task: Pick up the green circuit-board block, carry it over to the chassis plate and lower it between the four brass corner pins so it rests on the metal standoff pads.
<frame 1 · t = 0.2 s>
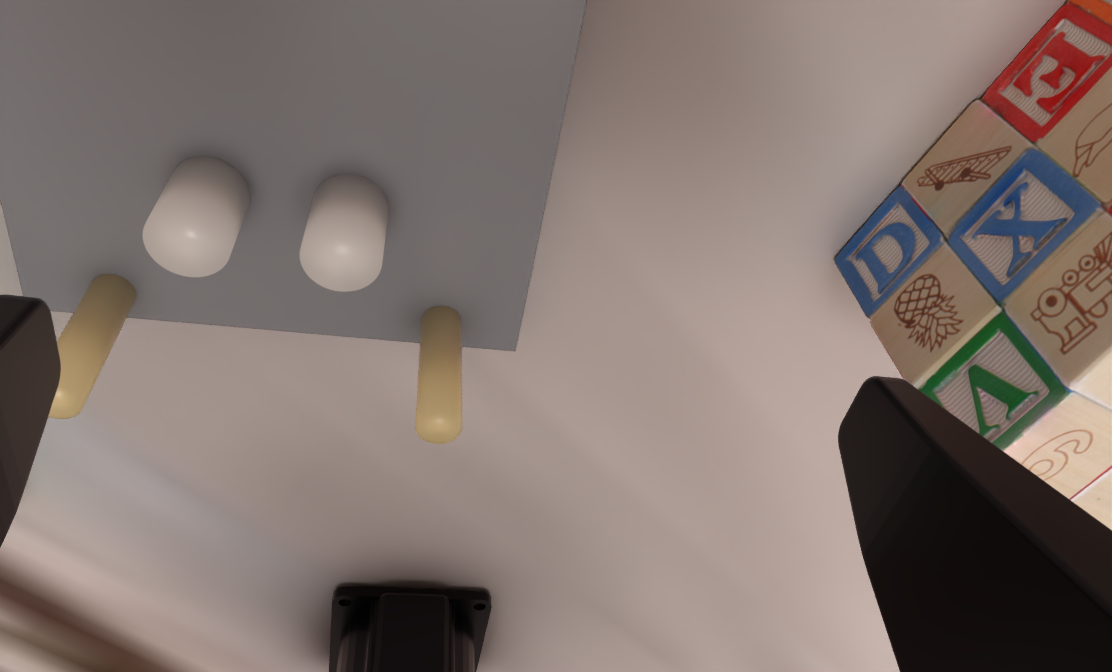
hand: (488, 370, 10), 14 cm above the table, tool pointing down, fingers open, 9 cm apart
chassis: (286, 37, 21), on the table
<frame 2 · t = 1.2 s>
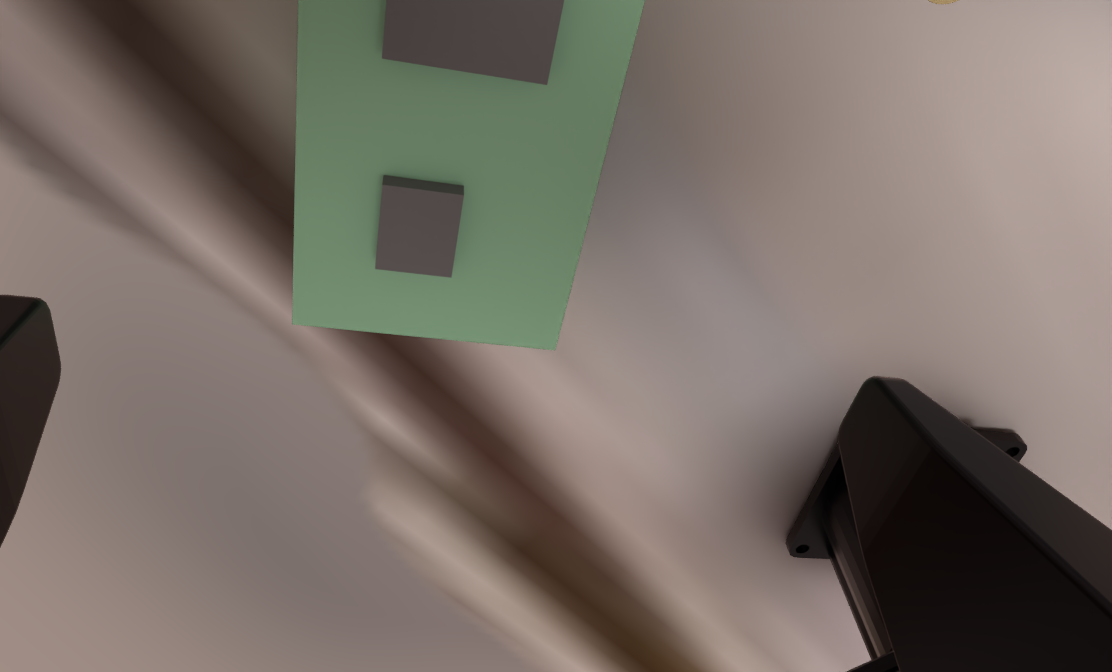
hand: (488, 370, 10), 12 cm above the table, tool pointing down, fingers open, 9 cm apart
board: (461, 18, 19), on the table
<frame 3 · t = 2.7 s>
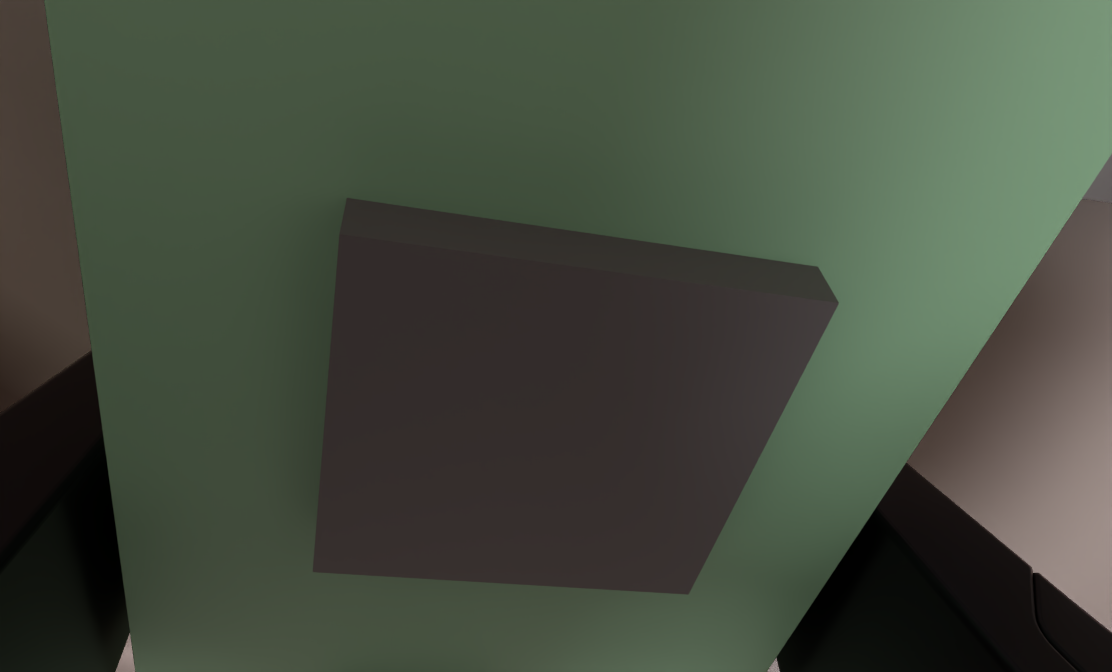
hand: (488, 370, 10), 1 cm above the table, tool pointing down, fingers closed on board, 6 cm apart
board: (485, 303, 10), on the table, touching gripper
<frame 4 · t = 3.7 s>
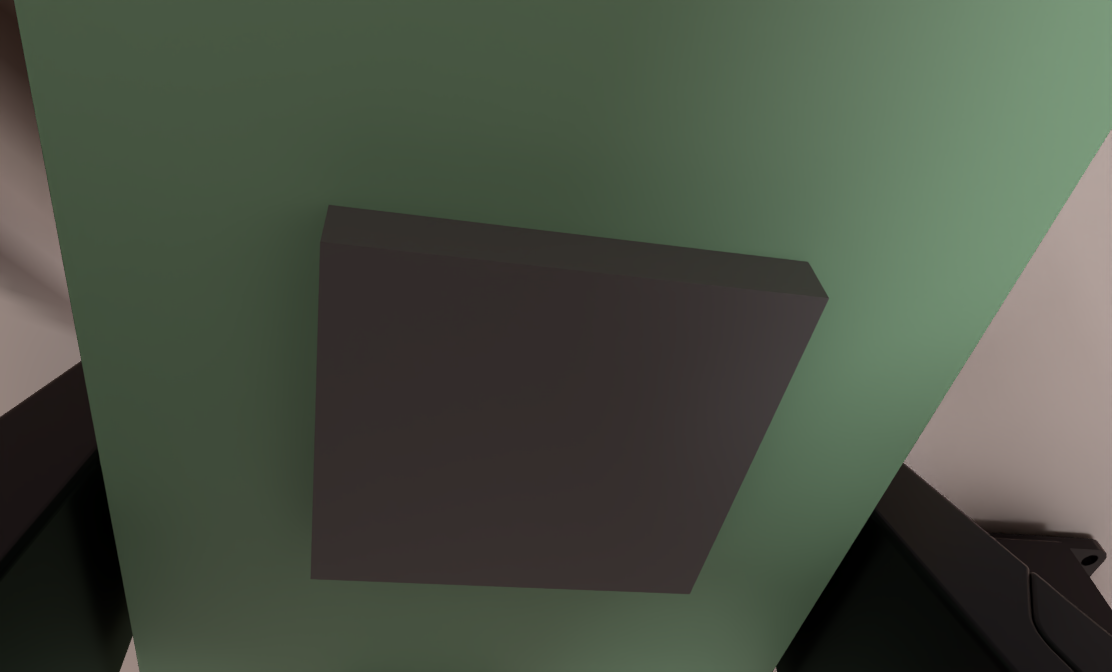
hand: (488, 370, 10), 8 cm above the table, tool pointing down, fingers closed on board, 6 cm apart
board: (485, 305, 10), point 7 cm above the table, touching gripper
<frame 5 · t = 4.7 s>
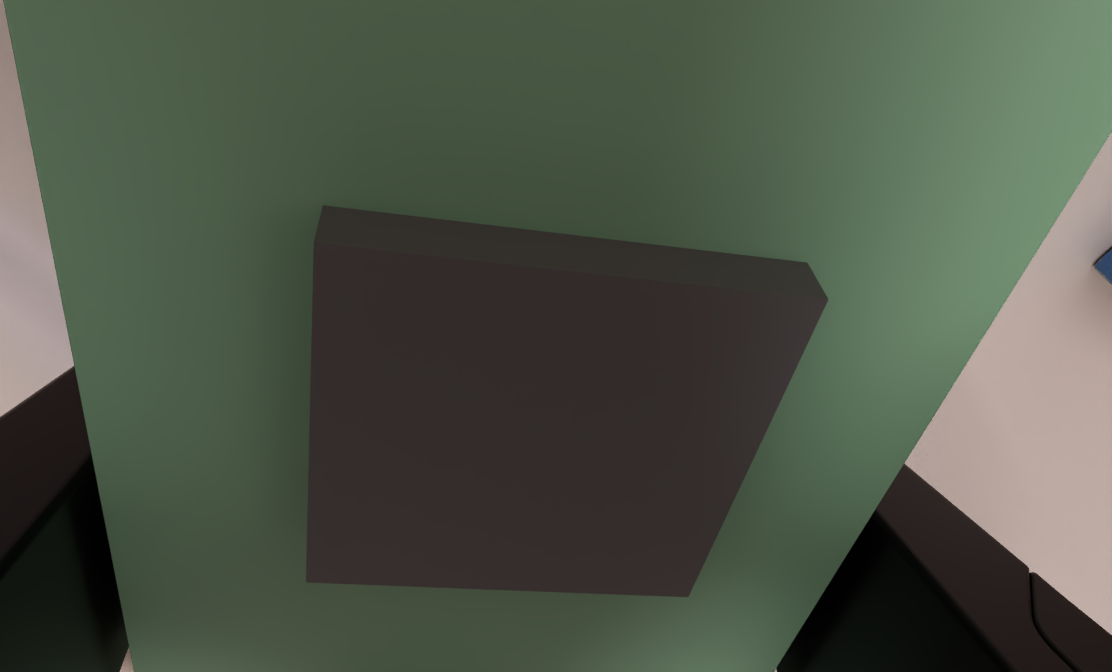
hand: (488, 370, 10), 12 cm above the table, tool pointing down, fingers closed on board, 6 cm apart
board: (483, 305, 10), point 11 cm above the table, touching gripper
when the fingers open (6 cm above the table, at t = 6.4 s): board drops 1 cm, resting on chassis.
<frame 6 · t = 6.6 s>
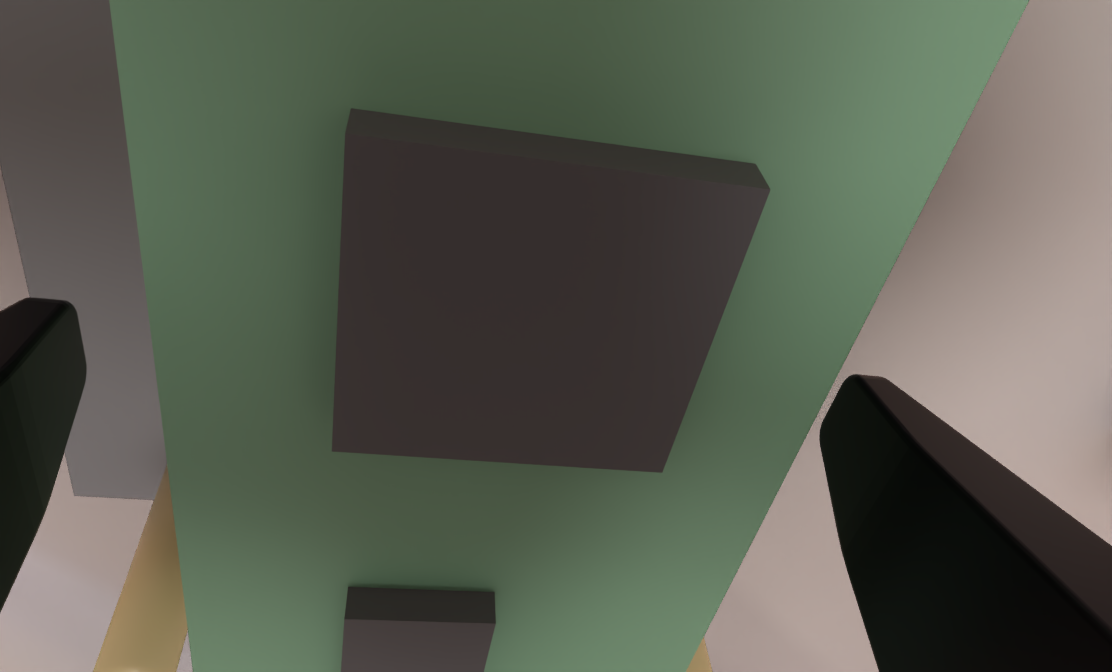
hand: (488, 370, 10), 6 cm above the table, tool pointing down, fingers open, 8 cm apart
board: (483, 245, 11), point 3 cm above the table, touching chassis
chassis: (477, 131, 14), on the table
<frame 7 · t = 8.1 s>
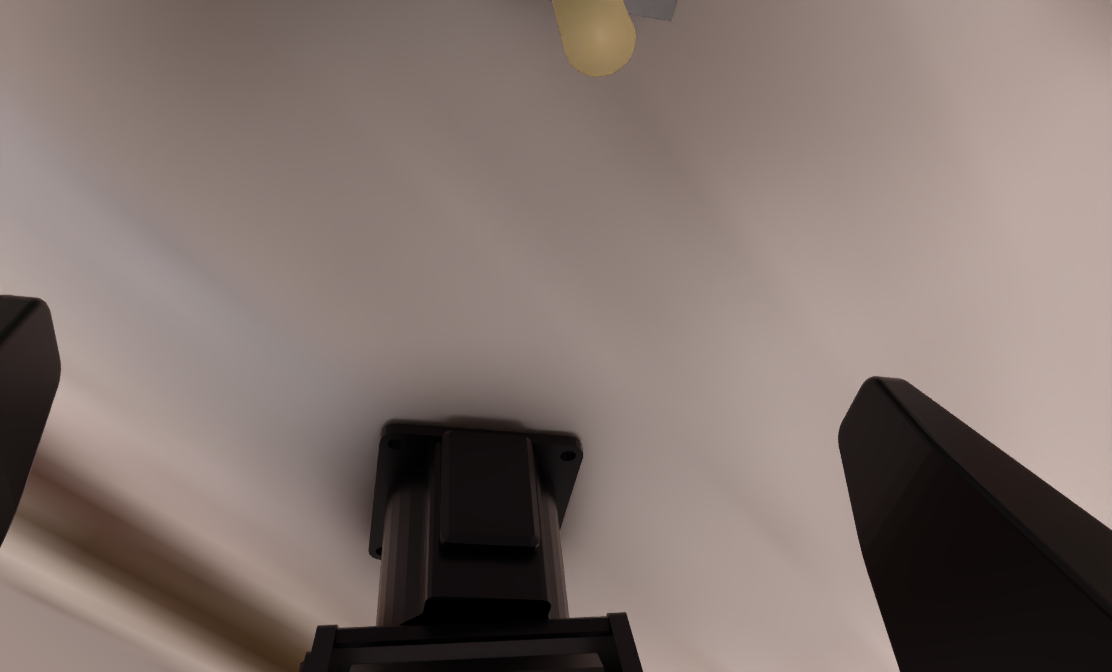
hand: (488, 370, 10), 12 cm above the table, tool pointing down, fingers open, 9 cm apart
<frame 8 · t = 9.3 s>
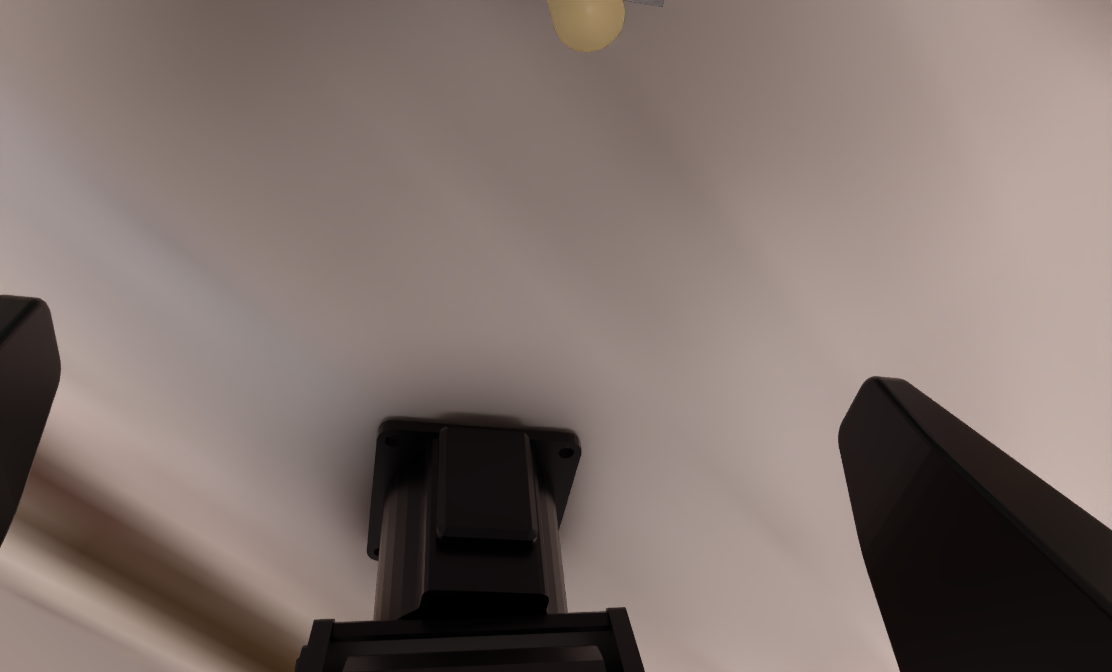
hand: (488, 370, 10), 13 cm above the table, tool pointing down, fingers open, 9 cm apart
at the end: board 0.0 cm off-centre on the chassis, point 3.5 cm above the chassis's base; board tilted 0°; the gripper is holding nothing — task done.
